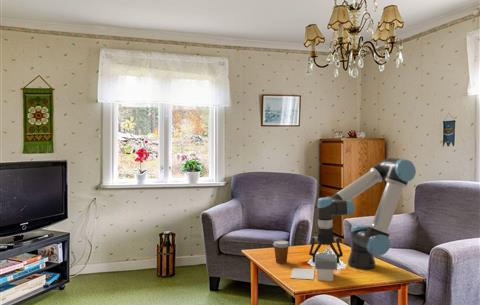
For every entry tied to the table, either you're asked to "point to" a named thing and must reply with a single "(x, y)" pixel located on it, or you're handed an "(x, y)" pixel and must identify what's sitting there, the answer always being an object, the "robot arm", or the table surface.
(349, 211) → the robot arm
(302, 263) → the table surface
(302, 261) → the table surface
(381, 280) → the table surface
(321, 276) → the storage box
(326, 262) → the lid
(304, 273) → the mat
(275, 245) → the disposable coffee cup
